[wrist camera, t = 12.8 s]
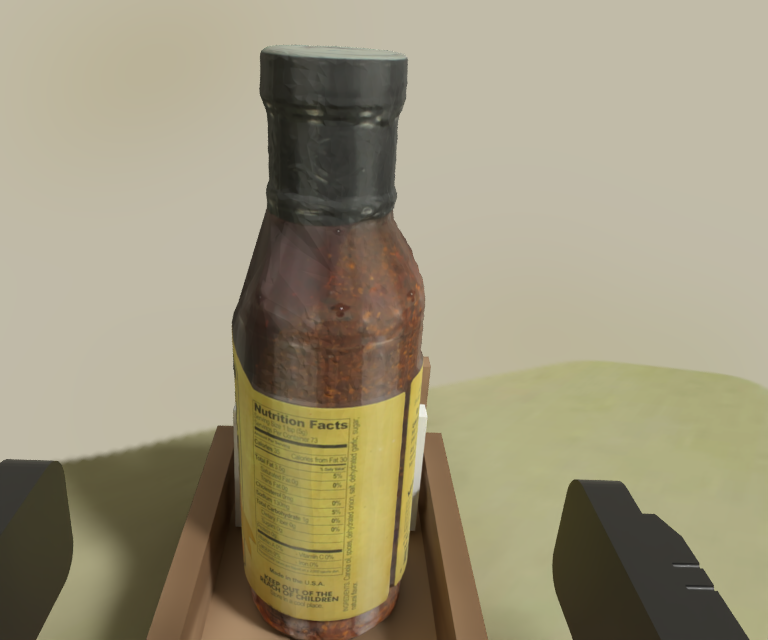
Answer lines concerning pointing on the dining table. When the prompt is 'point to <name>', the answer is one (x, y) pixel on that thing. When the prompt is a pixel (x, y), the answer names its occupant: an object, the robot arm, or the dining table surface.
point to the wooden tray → (232, 591)
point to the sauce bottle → (328, 349)
